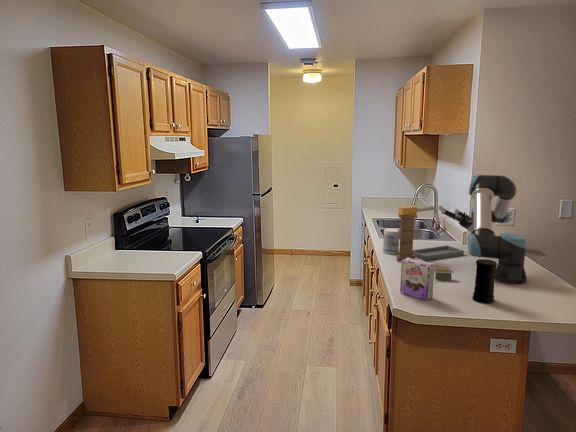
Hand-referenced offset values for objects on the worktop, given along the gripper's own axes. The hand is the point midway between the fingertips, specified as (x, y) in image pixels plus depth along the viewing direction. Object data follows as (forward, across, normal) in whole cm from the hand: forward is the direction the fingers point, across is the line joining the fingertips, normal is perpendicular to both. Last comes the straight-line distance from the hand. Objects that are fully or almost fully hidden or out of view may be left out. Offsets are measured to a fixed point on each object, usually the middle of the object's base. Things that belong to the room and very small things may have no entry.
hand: (446, 208), depth 255 cm
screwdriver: (+19, 0, -12) cm, 22 cm away
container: (+18, -65, -44) cm, 81 cm away
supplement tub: (+9, +16, -39) cm, 43 cm away
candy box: (+39, -49, -56) cm, 84 cm away
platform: (+15, -36, -42) cm, 58 cm away
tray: (-10, 0, -28) cm, 29 cm away
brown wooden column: (+11, 0, -40) cm, 41 cm away
